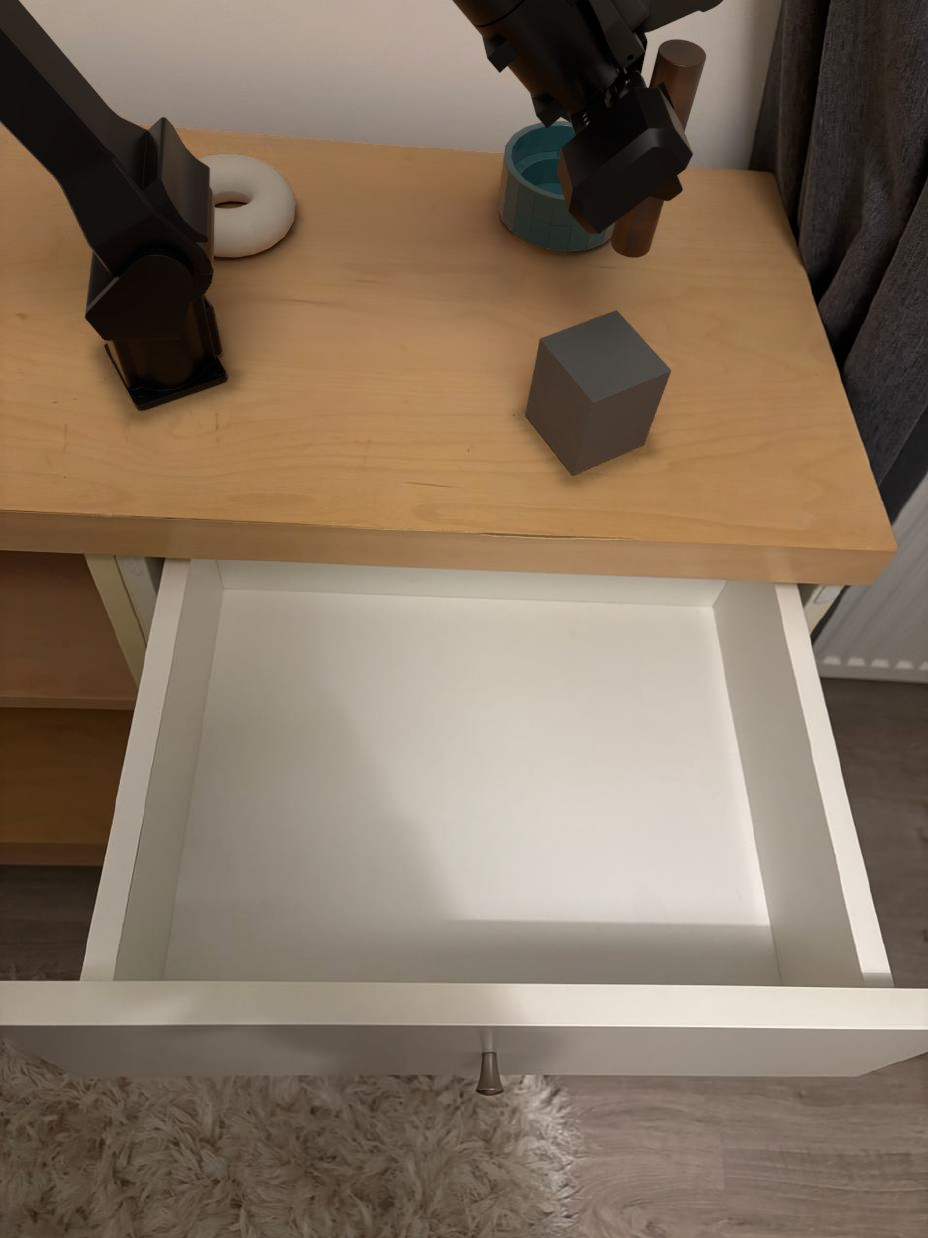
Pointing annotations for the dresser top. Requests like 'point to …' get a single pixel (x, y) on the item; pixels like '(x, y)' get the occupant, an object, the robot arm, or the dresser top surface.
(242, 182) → the donut
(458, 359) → the dresser top surface
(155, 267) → the robot arm
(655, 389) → the cube
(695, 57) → the stick
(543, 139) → the bowl
